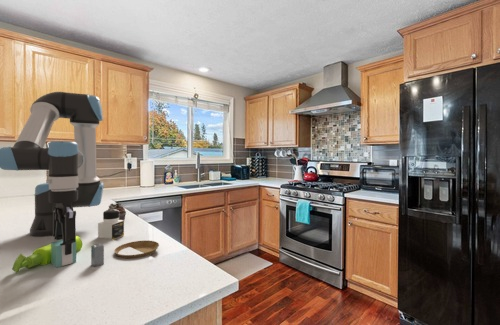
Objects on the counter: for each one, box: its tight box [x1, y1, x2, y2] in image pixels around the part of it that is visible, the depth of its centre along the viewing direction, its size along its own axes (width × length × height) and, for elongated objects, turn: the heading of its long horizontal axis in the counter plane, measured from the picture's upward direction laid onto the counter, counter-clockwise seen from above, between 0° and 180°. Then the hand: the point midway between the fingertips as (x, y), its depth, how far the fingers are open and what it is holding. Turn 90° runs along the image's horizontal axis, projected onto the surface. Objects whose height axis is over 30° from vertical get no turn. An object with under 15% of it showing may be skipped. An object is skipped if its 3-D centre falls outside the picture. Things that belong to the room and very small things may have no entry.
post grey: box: [90, 243, 105, 268], centre depth 77 cm, size 3×3×7 cm
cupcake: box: [107, 202, 127, 221], centre depth 133 cm, size 10×10×10 cm
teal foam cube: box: [50, 240, 77, 268], centre depth 78 cm, size 5×5×7 cm
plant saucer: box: [114, 240, 160, 259], centre depth 89 cm, size 15×15×3 cm
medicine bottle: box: [97, 209, 125, 241], centre depth 106 cm, size 7×7×12 cm
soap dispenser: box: [11, 235, 83, 273], centre depth 80 cm, size 6×7×20 cm
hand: (63, 261), depth 78 cm, fingers closed on teal foam cube, 5 cm apart
